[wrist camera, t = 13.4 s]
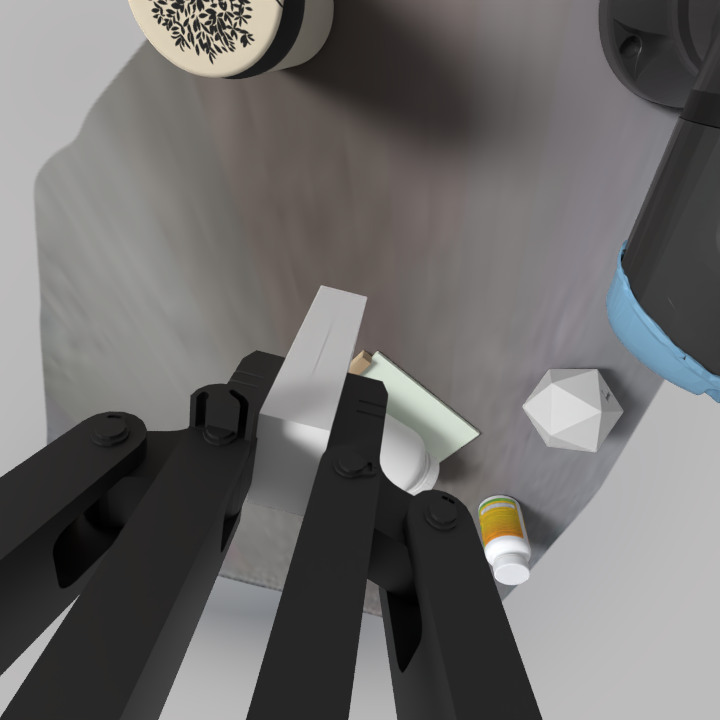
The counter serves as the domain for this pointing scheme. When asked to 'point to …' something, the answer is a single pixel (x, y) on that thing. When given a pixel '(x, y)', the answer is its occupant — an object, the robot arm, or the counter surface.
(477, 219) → the counter surface
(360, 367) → the stop strip
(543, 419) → the die
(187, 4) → the travel mug
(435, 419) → the mat
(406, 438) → the pill bottle
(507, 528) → the supplement bottle
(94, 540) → the robot arm
